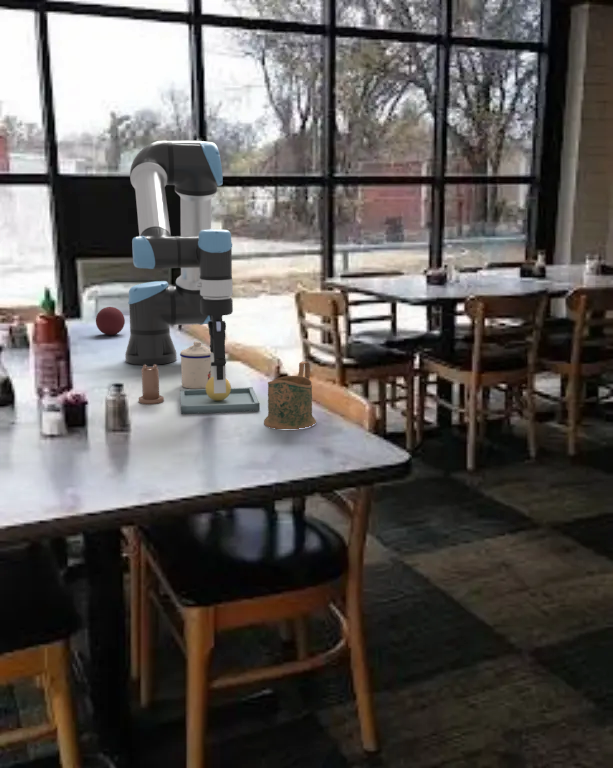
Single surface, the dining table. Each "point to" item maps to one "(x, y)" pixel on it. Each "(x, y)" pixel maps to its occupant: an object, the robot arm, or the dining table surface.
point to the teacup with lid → (195, 366)
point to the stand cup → (150, 386)
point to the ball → (217, 395)
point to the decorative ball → (110, 320)
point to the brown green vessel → (290, 401)
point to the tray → (202, 403)
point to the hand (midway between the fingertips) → (218, 385)
